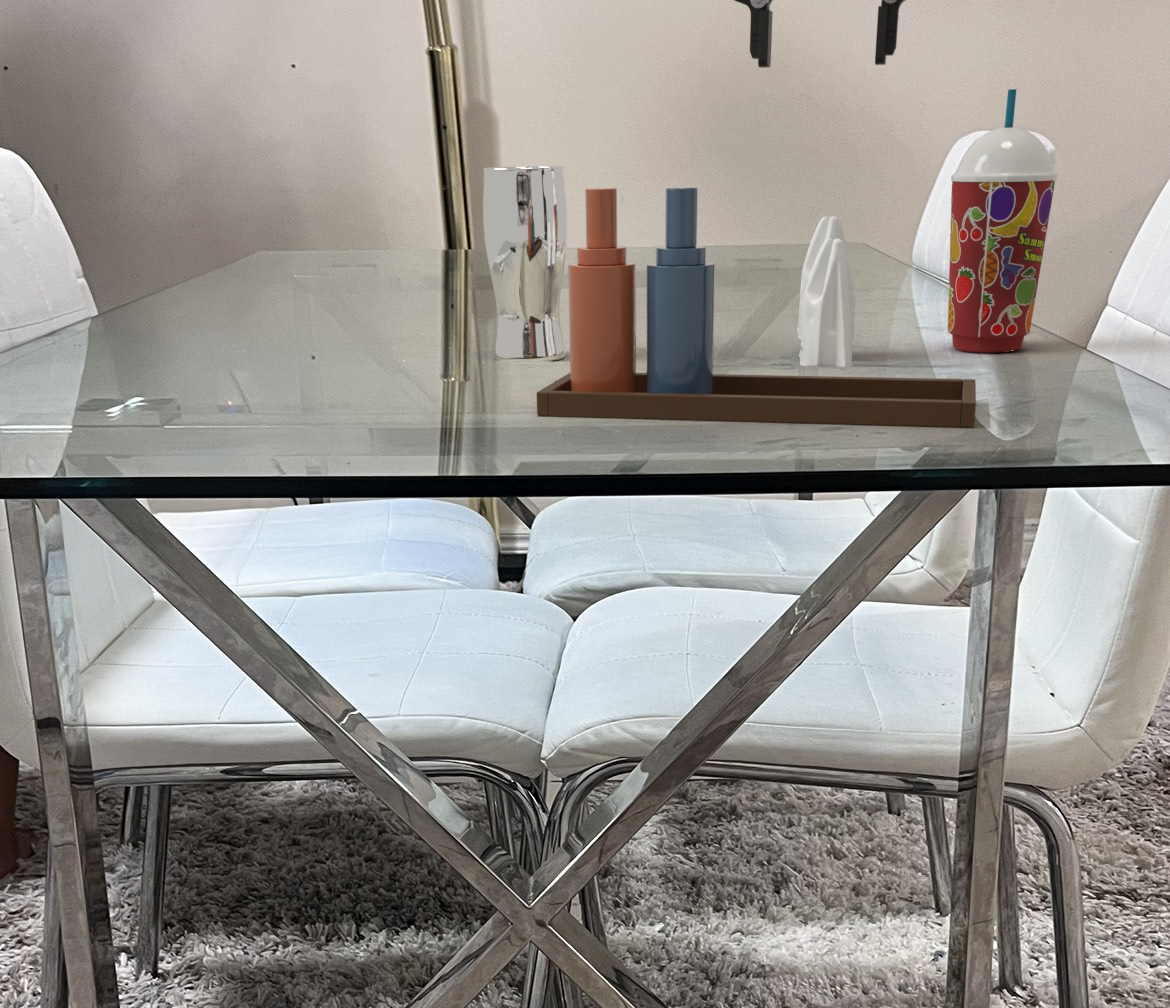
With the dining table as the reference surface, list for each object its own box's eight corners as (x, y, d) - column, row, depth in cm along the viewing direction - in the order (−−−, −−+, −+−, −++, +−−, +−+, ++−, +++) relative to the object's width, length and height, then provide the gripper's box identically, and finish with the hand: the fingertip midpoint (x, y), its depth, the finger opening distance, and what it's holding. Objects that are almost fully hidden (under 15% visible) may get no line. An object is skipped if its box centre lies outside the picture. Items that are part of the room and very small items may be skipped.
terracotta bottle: (642, 400, 96) (642, 186, 90) (628, 411, 92) (627, 189, 87) (580, 398, 97) (576, 187, 91) (563, 410, 93) (558, 190, 88)
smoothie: (1035, 356, 115) (1065, 86, 107) (932, 354, 118) (953, 89, 110) (1039, 343, 123) (1068, 89, 114) (942, 341, 125) (963, 92, 117)
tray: (972, 411, 93) (975, 379, 92) (972, 437, 85) (975, 402, 84) (572, 401, 100) (571, 371, 99) (537, 425, 92) (536, 392, 91)
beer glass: (552, 364, 116) (547, 167, 110) (476, 362, 118) (466, 168, 112) (582, 353, 122) (578, 165, 116) (508, 350, 124) (501, 166, 118)
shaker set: (795, 352, 120) (801, 213, 115) (844, 352, 120) (852, 213, 115) (800, 374, 109) (806, 221, 105) (854, 374, 109) (863, 221, 104)
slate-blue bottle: (717, 402, 95) (722, 186, 89) (706, 413, 91) (710, 188, 85) (653, 400, 96) (654, 186, 90) (640, 412, 92) (640, 189, 86)
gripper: (725, -201, 95) (719, 66, 102) (939, -216, 92) (919, 61, 99) (740, -179, 102) (733, 70, 109) (940, -193, 99) (921, 65, 106)
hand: (822, 65), depth 104 cm, fingers open, 8 cm apart
